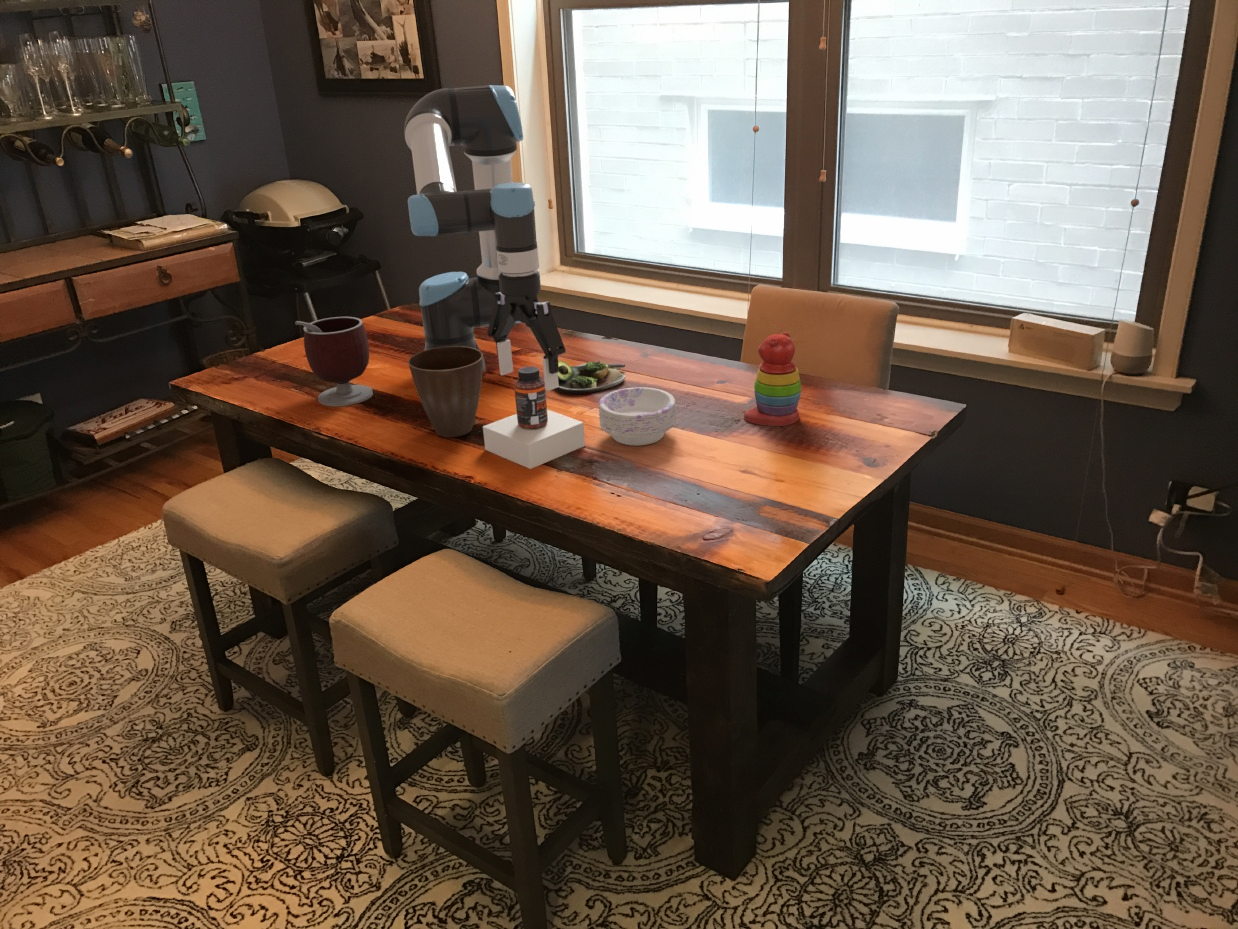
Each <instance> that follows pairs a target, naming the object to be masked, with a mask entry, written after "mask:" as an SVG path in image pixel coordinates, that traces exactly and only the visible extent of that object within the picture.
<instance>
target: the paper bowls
mask: <svg viewBox="0 0 1238 929" xmlns="http://www.w3.org/2000/svg"><path fill="white" fill-rule="evenodd" d="M676 402H677V401H676V399H675V397H674V396H673V395H672V394H671V393H670V392H667V391H665V390H662V389H658V388H655V387H654V388H653V387H646V386H645V387H642V386H641V387H638V386H636V387H635V386H634V387H627V388H621V389H616V390H613V391H611V392H609V393H607V394H604V396H602V397H601V398H600V400H599V402H598V413H599V414H598V415H599V426H600V428H601V430H602V431H603V432H605V433H606V434H608V435H611V437H612V439H614V440H615V441H616V442H617V443H620V444H622V445H625V446H636V447H639V446H640V447H641V446H647V445H651V444H654V443H656V442H658V441H660V440H661V439H662V438H663V437H665V434H666V432H668V431H670V430H671V429H672V428H673V427H674V426H675V425H676V422H677V414H676V412H677V409H676V408H677V407H676Z"/></svg>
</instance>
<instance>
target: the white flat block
mask: <svg viewBox="0 0 1238 929" xmlns="http://www.w3.org/2000/svg"><path fill="white" fill-rule="evenodd" d="M547 416H548V422H547V424H546V425H544V426H543V427H540V428H536V429H526V428H522V427H520V426H519V425H518V420H517V413H515V414H513V415H510V416H507V417H504V418H502V419H501V418H500V419H498V420H496V421H494V422H491V423H488V424H486V425H483V426H482V432H483V440H484V449H485V451H487V452H490V453H491V454H494V455H496V456H499V457H501V458H503V459H506V460H508V461H510V462H513V463H516V464H517V465H520V466H522V467H525V468H527V469H529V470H531V469H534V468H536V467H538V466H541V465H543V464H545V463H547V462H550V461H554V460H555V459H557V458H560V457H562V456H565V455H567V454H570V453H571V452H573V451H576V450H579V449H581V448H584V447H585V446H586V440H585V423H584V422H583V421H581V420H577V419H575V418H572V417H569V416H567V415H564V414H560V413H559V412H555V411H553V410H550V409H547Z"/></svg>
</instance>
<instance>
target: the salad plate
mask: <svg viewBox="0 0 1238 929" xmlns="http://www.w3.org/2000/svg"><path fill="white" fill-rule="evenodd" d="M607 363H608V362H607V361H605V362H604V363H602V362H601V361H600V360H598V361H593V362H592V361H587V362H586V363H582V364H579V365H569V364H568V363H566V362H564V361H561V360H558V366H559V371H558V383H559V387H558V388H555V389H554V390H555V391H557V392H558V393H562V394H565V395H570V394H571V395H573V396H574V395H575V396H576V395H577V396H578V395H579V394H580V395H586V394H591V393H595V392H599V391H604V390H606V389H610V388H613V387H616V386H618V385H619V384H621V383H622V382H624V381H625V379H626V376H625V374H623V373H622V372H620V371H618V370H620V369H622V368H625V367H626V364H624V363H619V364H618V363H617V364H616V363H610V364H607ZM606 380H607V381H610V383H608V384H604V385H601V386H597V384H598V383H599V382H604V381H606Z"/></svg>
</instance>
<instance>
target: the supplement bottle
mask: <svg viewBox="0 0 1238 929" xmlns="http://www.w3.org/2000/svg"><path fill="white" fill-rule="evenodd" d="M540 375H541V374H540V368H538V367H536V366H524V367H520V368H518V371H517V377H518V378H517V380H515V382H514V386H513V387H514V395H515V397H514V398H515V407H516V408H515V409H516V414H517V420H518V425H519V426H520V427H522V428H526V429H536V428H540V427H543V426H544V425H546V424H547V422H548V416H547V410H548V406H547V404H548V403H547V391H546V390H545V381H544V379H543V378H542V377H541V376H540Z"/></svg>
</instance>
